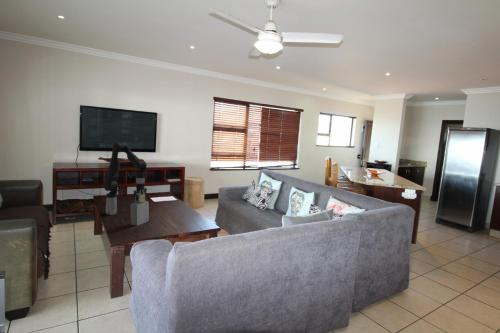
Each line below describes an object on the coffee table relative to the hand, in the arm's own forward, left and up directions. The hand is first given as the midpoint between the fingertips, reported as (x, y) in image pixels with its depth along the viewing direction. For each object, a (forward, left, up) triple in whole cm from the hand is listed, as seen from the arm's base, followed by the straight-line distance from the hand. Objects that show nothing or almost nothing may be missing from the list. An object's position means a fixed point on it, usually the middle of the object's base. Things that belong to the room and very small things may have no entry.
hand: (140, 200), depth 265 cm
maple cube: (0, 0, -1) cm, 1 cm away
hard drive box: (0, 0, -22) cm, 22 cm away
